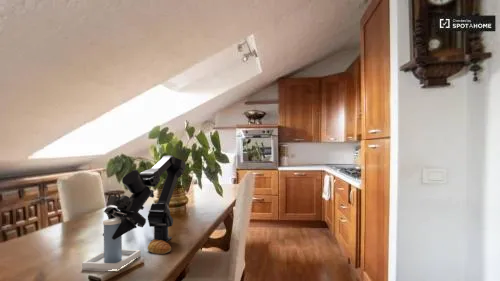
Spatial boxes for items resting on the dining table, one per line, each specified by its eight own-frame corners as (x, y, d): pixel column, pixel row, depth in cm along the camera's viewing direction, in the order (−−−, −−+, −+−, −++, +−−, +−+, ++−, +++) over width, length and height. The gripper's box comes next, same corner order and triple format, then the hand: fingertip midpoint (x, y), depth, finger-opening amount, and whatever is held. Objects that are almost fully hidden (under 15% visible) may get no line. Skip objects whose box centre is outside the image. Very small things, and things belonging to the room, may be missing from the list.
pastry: (175, 250, 110) (175, 240, 110) (161, 256, 105) (161, 246, 105) (159, 246, 115) (159, 237, 116) (145, 252, 110) (145, 242, 110)
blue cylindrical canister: (111, 256, 103) (110, 218, 103) (126, 257, 102) (125, 218, 102) (99, 263, 97) (98, 222, 97) (115, 264, 96) (114, 222, 96)
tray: (108, 255, 107) (108, 248, 107) (140, 256, 104) (140, 250, 104) (82, 269, 94) (82, 262, 94) (117, 272, 91) (117, 264, 91)
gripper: (109, 185, 108) (77, 220, 99) (138, 188, 97) (105, 228, 88) (128, 202, 114) (100, 237, 105) (157, 207, 104) (129, 247, 94)
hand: (108, 237), depth 98 cm, fingers closed on blue cylindrical canister, 5 cm apart
